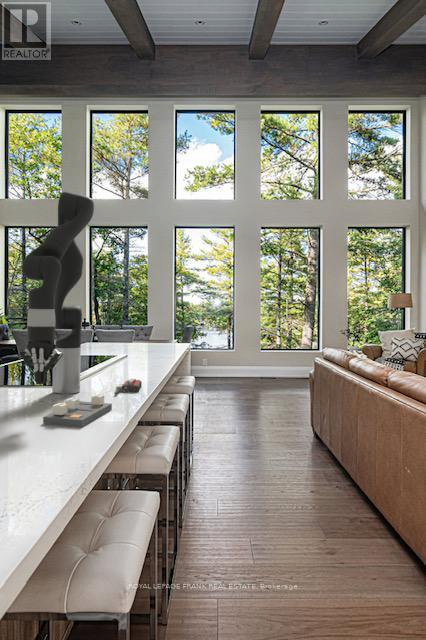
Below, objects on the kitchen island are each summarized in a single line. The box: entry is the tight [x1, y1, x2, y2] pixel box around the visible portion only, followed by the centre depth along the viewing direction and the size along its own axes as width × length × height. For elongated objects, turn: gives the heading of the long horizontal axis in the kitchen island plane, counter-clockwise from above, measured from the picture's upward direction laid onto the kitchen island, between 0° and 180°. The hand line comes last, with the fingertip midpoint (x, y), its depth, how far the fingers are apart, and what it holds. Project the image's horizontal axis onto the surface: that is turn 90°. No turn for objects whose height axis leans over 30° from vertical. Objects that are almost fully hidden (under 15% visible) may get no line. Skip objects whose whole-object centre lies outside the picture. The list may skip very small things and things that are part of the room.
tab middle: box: [64, 396, 80, 409], centre depth 129 cm, size 3×3×3 cm
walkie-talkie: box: [114, 378, 143, 395], centre depth 167 cm, size 9×4×20 cm
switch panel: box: [42, 400, 113, 428], centre depth 129 cm, size 12×20×2 cm, turn 170°
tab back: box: [90, 393, 105, 405], centre depth 135 cm, size 3×3×3 cm
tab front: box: [51, 402, 68, 415], centre depth 122 cm, size 3×3×3 cm
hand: (41, 383), depth 123 cm, fingers closed
